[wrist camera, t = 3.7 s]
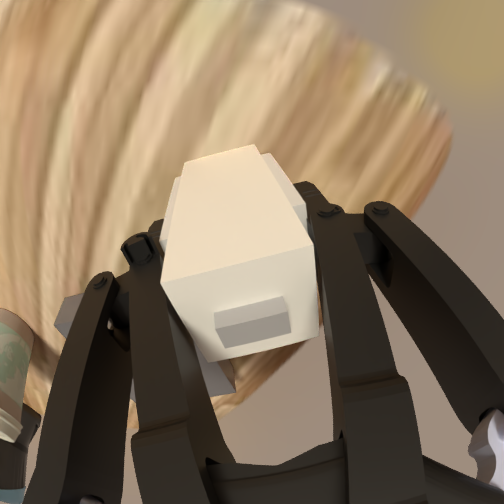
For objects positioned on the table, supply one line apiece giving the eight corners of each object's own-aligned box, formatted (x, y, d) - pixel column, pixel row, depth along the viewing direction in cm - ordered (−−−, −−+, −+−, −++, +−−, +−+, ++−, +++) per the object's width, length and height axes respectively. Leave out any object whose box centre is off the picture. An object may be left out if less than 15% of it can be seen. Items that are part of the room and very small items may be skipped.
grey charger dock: (140, 381, 28) (138, 411, 25) (64, 297, 19) (50, 333, 16) (233, 367, 28) (237, 399, 24) (182, 267, 19) (179, 307, 16)
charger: (204, 221, 17) (209, 376, 9) (184, 162, 15) (158, 299, 6) (266, 205, 17) (324, 349, 9) (253, 144, 15) (321, 258, 6)
